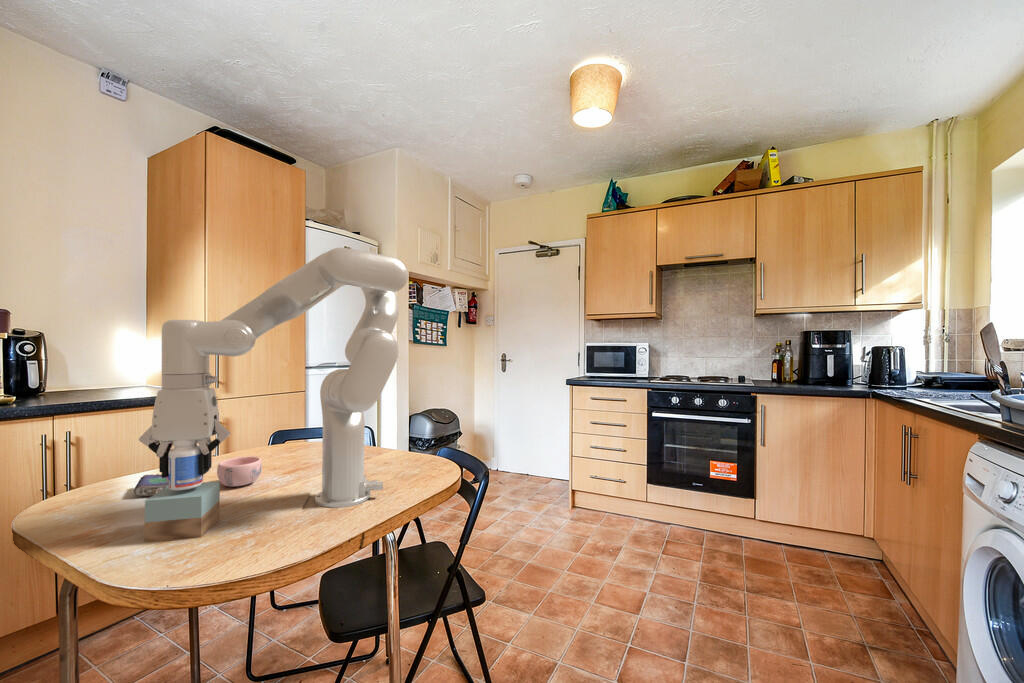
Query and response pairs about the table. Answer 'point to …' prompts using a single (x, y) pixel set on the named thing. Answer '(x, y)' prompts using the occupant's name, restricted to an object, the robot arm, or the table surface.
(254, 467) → the pink bowl
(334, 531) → the table surface
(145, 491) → the flask
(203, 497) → the tower top
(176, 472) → the pill bottle
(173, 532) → the tower base
